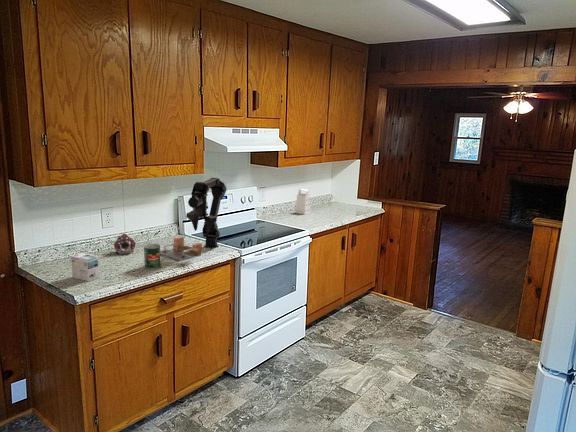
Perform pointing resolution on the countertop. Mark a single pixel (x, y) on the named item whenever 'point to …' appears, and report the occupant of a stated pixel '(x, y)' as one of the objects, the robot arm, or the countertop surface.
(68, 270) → the countertop surface
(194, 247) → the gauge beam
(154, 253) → the canned tomato
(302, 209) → the grater
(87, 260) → the light bulb box
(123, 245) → the maroon piece
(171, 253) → the flange plate
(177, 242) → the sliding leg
